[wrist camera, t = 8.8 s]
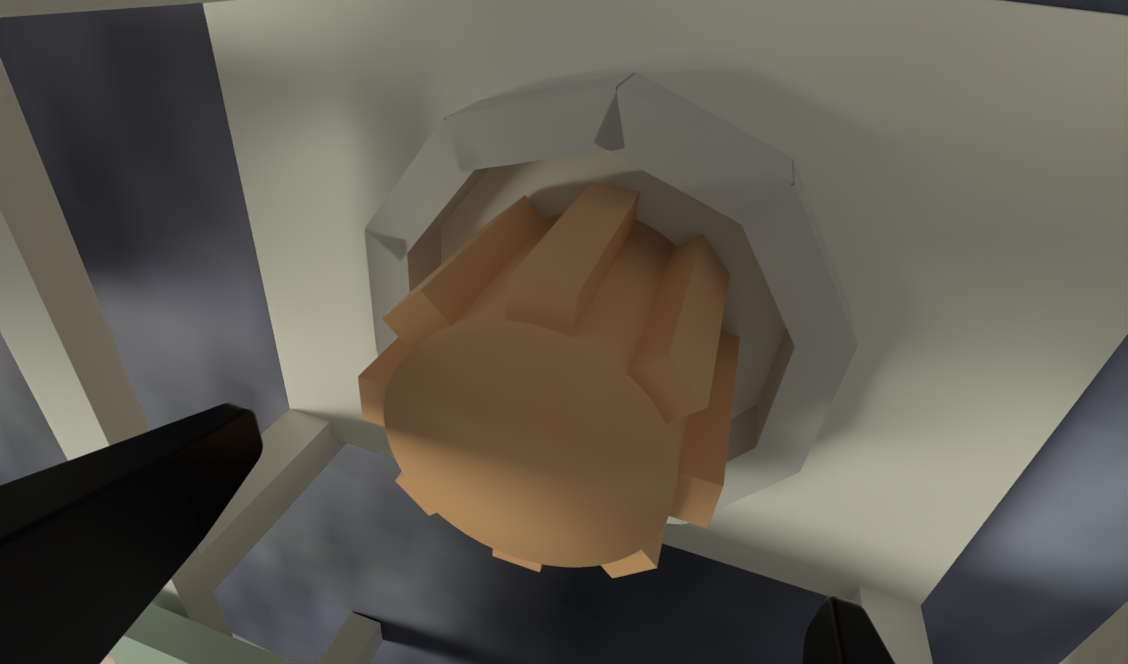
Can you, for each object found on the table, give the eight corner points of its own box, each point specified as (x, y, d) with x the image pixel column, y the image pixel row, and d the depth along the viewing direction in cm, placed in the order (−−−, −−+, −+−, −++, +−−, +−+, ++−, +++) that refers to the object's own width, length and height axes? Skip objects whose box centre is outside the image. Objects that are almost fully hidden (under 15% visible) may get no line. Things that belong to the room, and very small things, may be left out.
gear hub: (470, 383, 16) (365, 525, 12) (474, 152, 12) (328, 244, 8) (701, 449, 15) (670, 633, 11) (778, 214, 11) (775, 357, 7)
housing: (354, 629, 28) (246, 799, 22) (220, -95, 12) (-249, -141, 7) (760, 788, 24) (754, 1039, 19) (1296, 35, 9) (2263, 173, 3)
